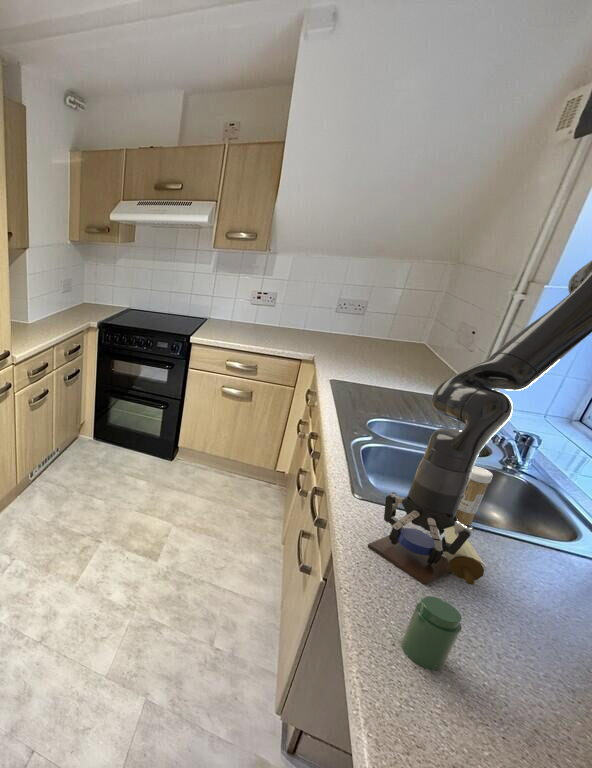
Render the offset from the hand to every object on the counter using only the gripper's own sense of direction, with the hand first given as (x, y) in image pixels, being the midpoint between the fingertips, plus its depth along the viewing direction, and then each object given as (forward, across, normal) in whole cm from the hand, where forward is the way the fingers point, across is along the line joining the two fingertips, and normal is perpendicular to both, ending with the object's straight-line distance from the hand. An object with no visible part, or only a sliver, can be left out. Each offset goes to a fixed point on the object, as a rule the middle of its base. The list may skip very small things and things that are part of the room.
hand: (412, 551), depth 85 cm
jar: (+2, +10, -23) cm, 25 cm away
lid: (-3, 0, 0) cm, 3 cm away
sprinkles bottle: (+2, +1, +24) cm, 24 cm away
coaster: (+1, 0, 0) cm, 1 cm away
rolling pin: (+1, +2, +11) cm, 11 cm away
